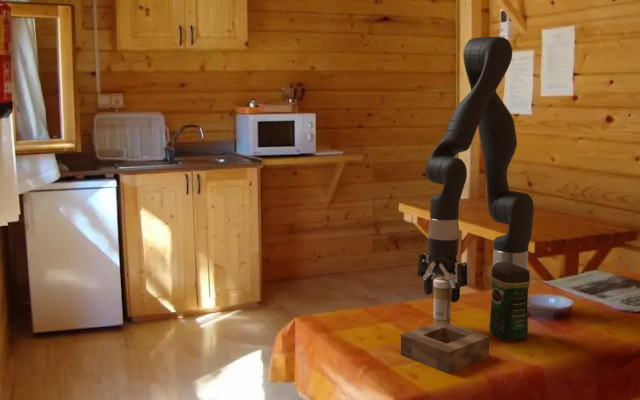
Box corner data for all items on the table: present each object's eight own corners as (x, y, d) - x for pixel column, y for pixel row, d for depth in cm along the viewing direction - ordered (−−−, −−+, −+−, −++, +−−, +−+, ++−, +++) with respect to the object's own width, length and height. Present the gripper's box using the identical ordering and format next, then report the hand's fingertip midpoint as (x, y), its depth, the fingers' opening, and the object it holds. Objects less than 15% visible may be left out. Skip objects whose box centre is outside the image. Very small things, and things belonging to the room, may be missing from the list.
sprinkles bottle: (454, 329, 187) (455, 278, 184) (443, 333, 184) (444, 282, 181) (439, 325, 190) (440, 275, 188) (428, 329, 187) (429, 278, 184)
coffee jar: (533, 340, 179) (536, 267, 175) (504, 344, 176) (507, 270, 173) (511, 327, 188) (514, 257, 184) (484, 331, 185) (486, 260, 182)
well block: (441, 339, 180) (441, 320, 179) (488, 356, 169) (489, 336, 168) (400, 354, 170) (400, 334, 169) (448, 373, 160) (449, 352, 159)
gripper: (475, 238, 179) (472, 301, 182) (431, 229, 190) (429, 289, 193) (456, 242, 175) (453, 307, 177) (412, 232, 185) (410, 294, 188)
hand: (441, 297), depth 185 cm, fingers open, 8 cm apart
